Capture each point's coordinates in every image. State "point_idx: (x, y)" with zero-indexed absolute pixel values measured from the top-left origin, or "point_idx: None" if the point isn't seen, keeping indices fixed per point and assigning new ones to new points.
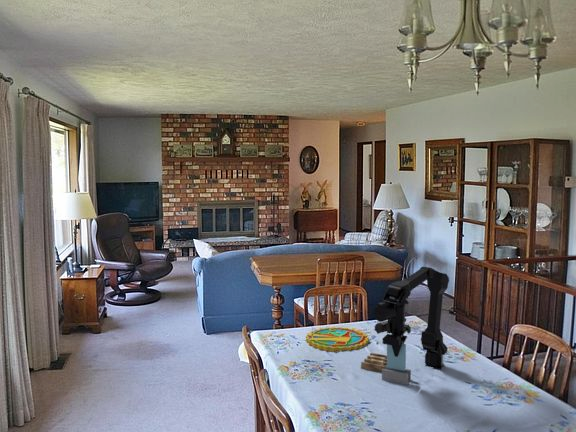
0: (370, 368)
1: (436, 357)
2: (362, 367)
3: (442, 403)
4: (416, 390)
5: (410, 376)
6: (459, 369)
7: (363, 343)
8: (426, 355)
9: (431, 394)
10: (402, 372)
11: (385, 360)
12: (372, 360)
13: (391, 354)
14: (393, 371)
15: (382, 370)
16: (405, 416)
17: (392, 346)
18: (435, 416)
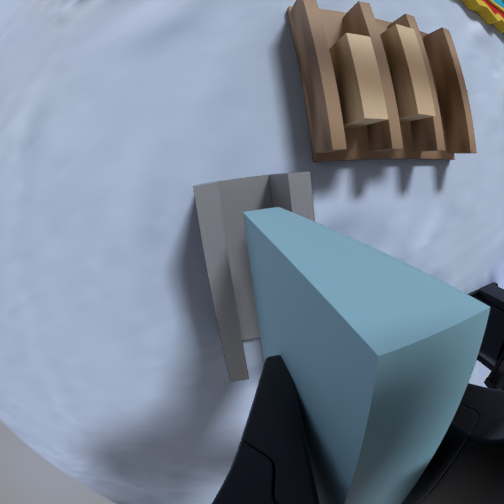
0: (304, 57)
1: (485, 355)
2: (293, 15)
3: (168, 465)
4: (203, 387)
5: None
6: None
7: (489, 12)
8: (500, 310)
9: (209, 433)
10: (241, 346)
11: (428, 119)
12: (349, 44)
13: (279, 314)
14: (216, 286)
15: (194, 189)
16: (11, 398)
17: (224, 495)
18: (81, 458)
